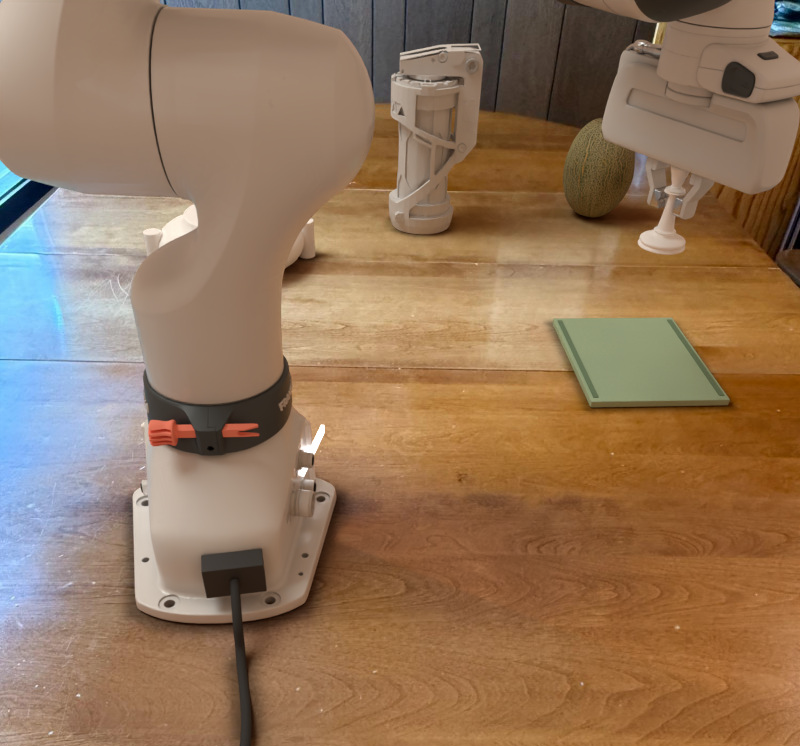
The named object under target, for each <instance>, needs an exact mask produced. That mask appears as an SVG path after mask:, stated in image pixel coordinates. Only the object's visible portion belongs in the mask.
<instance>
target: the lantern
mask: <svg viewBox="0 0 800 746" xmlns="http://www.w3.org/2000/svg"><path fill="white" fill-rule="evenodd" d="M474 46H475V47H478V48H475V47H474ZM481 52H482V48H481V46H480V43H447V44H437V45H432V46H427V47H423V48H418V49H413V50H408V51H403V52H400V53H399V71H397V72H394V73H392V74H391V76H390V77H391V78H390V117H391V118H392V119H393V120H395V121H397V123H398V124H397V125H398V126H397V127H398V158H397V174H396V175H397V176H396V188H394V189H393V190H391V191H390V192H389V194H388V215H389V219H390V223H391V226H392V227H394V228H395V229H396V230H398V231H400V232H402V233H406V234H412V235H434V234H439V233H442V232H444V231H445V230H448V228H449V227H450V226H451V222H452V219H453V214H454V207H453V205H452V204H451V195H450V193H448V184H449V180H448V179H449V177H448V175H449V173H450V172H451V170H452V169H453V167H454V166H455V165H457V164H459V163H461V162H463V161H464V160H465V158H466V157H467V156H468V155H469V154H470V153H471V151H472V150H473V149H474V148H475V146H476V145H477V138H478V126H479V118H480V117H479V116H480V106H481V105H480V104H481V95H482V94H481V91H482V83H483V71H484V69H483V67H484V59H483V57H482V54H481ZM453 108H455V110H454V109H453ZM453 110H454V123H453V132H452V122H453Z"/></svg>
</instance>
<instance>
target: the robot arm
mask: <svg viewBox="0 0 800 746" xmlns="http://www.w3.org/2000/svg"><path fill="white" fill-rule="evenodd" d="M556 1H557V2H558V3H560V4H563V5H568V6H575V7H583V8H594V9H597V10H600V11H604V12H607V13H611V14H614V15H618V16H621V17H628V18H630V19H635V20H637V21H641V22H646V23H651V24H652V23H653V24H662V23H666V27H665V30H664V35H663V40H662V44H660V43H652V42H650V41H648V40H645V39H637V40H635V41H634V42H633V43H631V44H629V45H628V46H626V48H625V49H624V50H623V51H622V53H621V55H620V58H619V63H618V67H617V73H616V75H615V78H614V80H613V83H612V86H611V89H610V92H609V95H608V98H607V102H606V105H605V110H604V113H603V117H602V118H603V121H602V133H603V136H604V139H605V140H606V141H608V142H610V143H613V144H616V145H618V146H621V147H624V148H626V149H629V150H632V151H634V152H635V153H637V154H640V155H643V156H645V157H647V158H646V162H645V166H644V169H645V172H646V178H647V184H648V187H649V191H648V195H647V200H646V204H647V205H648V206H651V207H654V208H656V209H662V208H665V206H666V203H667V200H668V197H669V194H667V193H665V192H664V190H665V188H666V187H667V185H668V184H667V175H666V169H667V168H669V167H670V168H671V165H672V166H674V167H677V168H680V169H682V170H685V171H688V172H690V173H689V174H690V178H689V182H688V183H689V185H691V186H692V187H691V189H690V190H689V191H688V192H687V193H686V194H685V195H682V196H679V197H678V198H676V200H675V204H674V206H675V208H674V209H673V211H672V214H673V215H675V217H677V218H680V219H682V220H684V221H686V220H688V219H692V218H693V217H694V216H695V214H696V211H697V207H698V203H699V200H701V199H703V197H704V196H705V195H706V194H707V193H708V192H709V190H711V188H712V187H713V186H714V185H715V183H717V184H720V185H723V186H725V187H728V188H730V189H733V190H736V191H739V192H741V193H743V194H746V195H750V196H752V195H756V194H761V193H764V192H767V191H770V190H772V189H773V188H774V187H776V186H777V185H778V184H780V183H781V182H782V180H783V179H784V176H785V174H786V173H787V172H786V171H787V169H788V167H789V163H790V160H791V156H792V153H793V151H794V146H795V143H796V139H797V135H798V130H799V127H800V108H799V105H798V103H797V101H796V100H795V99H794V97H797V96H800V61H799V60H798V59H797V58H796V57H794V56H793V55H792V54H791V53H789V52H788V51H787V50H786V49H784V48H783V47H782V46H781V45H779V44H778V43H777V41H775V40H774V39H773V38H771V36H770V32H771V29H772V25H773V21H774V17H775V2H776V0H556ZM632 49H633V50H632ZM374 94H375V93H374V90H373V85H372V81H371V78H370V75H369V71H368V69H367V67H366V65H365V62H364V60H363V58H362V57H361V55H360V53H359V51H358V49H357V48H356V46H355V45H354V44H353V42H352V41H351V39H350V38H349V37H348V36H347V35H346V33H344V32H343V30H342V29H339V28H336V27H333V26H329V25H326V24H323V23H319V22H317V21H313V20H310V19H307V18H303V17H298V16H294V15H290V14H286V13H282V12H279V11H278V12H277V11H274V10H264V9H237V8H236V9H235V8H214V7H213V8H212V7H211V8H209V7H186V6H185V7H181V6H170V5H168V4H164V3H161V0H1V1H0V162H1V163H2V164H3V165H4V166H5V167H6V168H7V169H8V170H9V171H10V172H11V173H13V174H14V175H16V176H17V177H19V178H22V179H24V180H25V179H26V180H29V181H33V182H37V183H40V184H44V185H47V186H51V187H55V188H58V189H59V188H60V189H64V190H67V191H72V192H75V193H76V192H77V193H80V194H85V195H92V196H93V195H97V196H121V197H122V196H124V197H143V198H144V197H147V198H151V197H152V198H171V199H172V198H174V199H182V200H184V201H185V200H186V201H189V202H192V204H194V205H195V208H196V211H197V218H198V227H197V228H195V229H194V230H192V231H190V232H189V233H187V234H185V235H182V236H180V237H178V238H176V239H174V240H172V241H170V242H168V243H166V244H165V245H163V246H161V247H160V248H158V249H157V250H155V251H154V252H153V253H152V254H150V255H149V256H148V257H147V256H146V258H145V259H144V260H143V261H142V262H141V263H140V265H139V266H138V268H137V269H136V271H135V272H134V273H135V274H134V276H133V279H132V282H131V288H130V295H129V296H130V299H129V300H130V306H131V309H132V313H133V318H134V323H135V327H136V332H137V336H138V341H139V346H140V350H141V354H142V359H143V363H144V370H143V374H142V382H143V389H142V390H143V392H142V394H143V402H144V408H145V410H146V417H147V418H146V419H145V420H144V421H143V422H142V423H140V429H141V432H142V433H141V434H142V437H143V440H144V441H143V442H144V448H145V451H144V452H145V466H146V468H145V469H146V479H141V483H140V487H138V488H137V489H136V490H135V491H134V492H133V494H132V530H133V531H132V533H133V568H134V570H133V571H134V572H133V573H134V574H133V575H134V577H133V578H134V598H135V599H134V600H135V604H136V608H137V609H138V610H139V611H140V612H142V613H145V614H146V615H149V616H151V617H155V618H158V619H161V620H165V621H170V622H175V623H176V622H177V623H185V624H232V631H233V632H232V633H233V639H234V640H233V641H234V642H233V643H234V650H235V651H234V652H235V663H236V672H237V682H238V683H237V684H238V693H239V704H240V705H239V706H240V735H239V736H240V739H239V746H252V745H251V744H252V703H251V693H250V692H251V691H250V683H249V675H248V674H249V673H248V667H247V664H248V663H247V655H246V643H245V642H246V641H245V633H244V624H243V623H244V622H252V621H257V620H264V619H268V618H272V617H276V616H279V615H283V614H285V613H288V612H291V611H292V610H295V609H296V608H298V607H301V606H302V605H303V604H305V603H306V601H307V600H308V597H309V594H310V591H311V587H312V584H313V581H314V578H315V575H316V570H317V567H318V563H319V560H320V557H321V553H322V550H323V546H324V543H325V540H326V537H327V533H328V530H329V526H330V522H331V520H332V516H333V512H334V509H335V506H336V502H337V492H336V488H335V486H334V485H333V484H332V483H330V482H328V481H326V480H323V479H322V478H320V477H317V474H316V464H315V454H316V452H317V450H318V449H319V446H320V443H321V441H322V439H323V437H324V435H325V424H320V426H319V429H318V430H317V432H316V435H315V436H314V439H313V434H312V433H313V432H312V424H311V421H310V420H308V419H307V418H306V417H305V416H304V415H303V414H301V413H300V412H299V411H298V410H297V409H296V407H294V405H293V379H292V373H291V372H290V365H289V362H288V359H287V358H286V356H285V355H284V348H283V335H282V334H283V332H282V331H283V330H282V290H283V289H282V288H283V280H284V275H285V274H284V273H285V269H286V268H285V266H286V263H287V259H288V256H289V254H290V251H291V249H292V247H293V245H294V243H295V241H296V239H297V237H298V235H299V234H300V232H301V231H302V229H303V228H304V226H305V225H306V224H307V222H308V221H309V220H310V219H312V218H313V217H314V216H315V214H316V213H317V212H318V211H319V210H320V209H322V207H323V206H325V205H326V204H327V203H328V202H329V201H331V200H333V198H335V197H336V196H338V195H339V194H341V193H342V192H343V191H345V189H346V188H347V187H348V186H349V185H350V184H351V183H352V182H353V180H354V179H355V178H356V177H357V175H358V173H360V171H361V169H362V167H363V165H364V163H365V161H366V160H367V157H368V155H369V153H370V149H371V145H372V142H373V138H374V132H375V125H376V123H375V122H376V103H375V95H374Z"/></svg>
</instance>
